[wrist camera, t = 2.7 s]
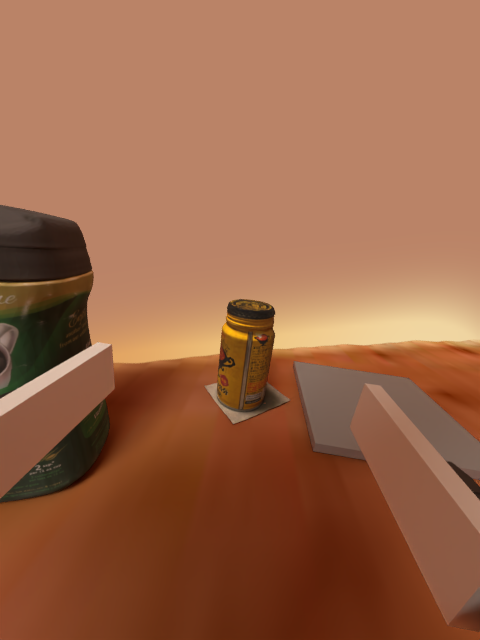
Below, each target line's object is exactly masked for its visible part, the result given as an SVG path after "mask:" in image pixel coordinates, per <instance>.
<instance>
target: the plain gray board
mask: <svg viewBox="0 0 480 640" xmlns="http://www.w3.org/2000/svg"><path fill="white" fill-rule="evenodd" d="M293 369H294V374H295V378H296V382H297V386H298V390H299V394H300V399H301V403H302V407H303V411H304V415H305V419H306V424H307V428H308V432H309V436H310V440H311V444H312V448H313V451H315V452H321V453H327V454H333V455H338V456H344V457H350V458H356V459H362V460H366V459H365V457H364V455H363V453H362V451H361V449H360V447H359V445H358V443H357V441H356V439H355V437H354V435H353V433H352V431H351V429H350V424H351V421H352V419H353V416H354V413H355V410H356V407H357V404H358V401H359V398H360V396H361V393H362V390H363V387H364V384H365V383H366V384H373V385H380V386H381V387H382V388H383V389H384V390H385V391H386V393H387V394H388V395H389V396H390V397H391V398H392V400H393V401H394V402H395V403H396V404H397V405H398V406H399V408H400V409H401V410H402V411H403V412H404V413H405V415H406V416H407V417H408V418H409V419H410V420H411V422H412V423H413V424H414V425H415V426H416V427H417V428H418V430H419V431H420V432H421V433H422V434H423V435H424V437H425V438H426V439H427V440H428V441H429V442H430V443H431V445H432V446H433V447H434V448H435V449H436V450H437V452H438V453H439V454H440V455H441V456H442V457H443V458H444V460H445V461H450V462H452V463H454V464H455V465H456V466H457V467H459V468H460V469H461V470H462V471H464V472H465V473H466V474H467V475H469V476H470V477H471V478H472V479H478V480H480V442H479V441H478V440H476V439H475V438H474V437H473V436H472V435H471V434H470V433H469V432H468V431H467V430H465V429H464V428H463V427H462V426H461V425H460V424H459V423H458V422H457V421H455V420H454V419H453V418H452V417H451V416H450V415H449V414H448V413H447V412H446V411H444V410H443V409H442V408H441V407H440V406H439V405H438V404H437V403H436V402H434V401H433V400H432V399H431V398H430V397H429V396H428V395H427V394H426V393H425V392H423V391H422V390H421V389H420V388H419V387H418V386H417V385H416V384H415V383H414V382H412V381H411V380H410V379H409V378H404V377H398V376H391V375H384V374H377V373H371V372H364V371H357V370H350V369H343V368H337V367H330V366H323V365H316V364H310V363H303V362H296V361H294V363H293Z"/></svg>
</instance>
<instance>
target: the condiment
mask: <svg viewBox="0 0 480 640" xmlns="http://www.w3.org/2000/svg"><path fill="white" fill-rule="evenodd" d="M227 309H228V310H227V317H226V321H227V322H226V323H225V324H224V325H223V327H222V335H221V347H220V359H219V368H218V381H217V383H215V384H212V385H207V386H205V388H206V389H207V390H208V392H209V393H210V395H211V396H212V398H213V399H214V400H215V402H216V403H217V404H218V405H219V407H220V408H221V409H222V411H223V412H224V413H225V414H226V415H227V417H228V418H229V419H230V420H231V422H232V423H233V424H235V423H238V422H240V421H243V420H246V419H248V418H250V417H253V416H256V415H258V414H261V413H263V412H264V411H267V410H268V409H270V408H274V407H276V406H279V405H281V404H283V403H285V402H288V401H290V399H288V398H287V397H285V396H284V395H283V394H281V393H280V392H279V391H278V390H276V389H275V388H274V387H273V386H271V385H270V384H268V382H267V379H268V373H269V367H270V361H271V356H272V350H273V344H274V338H275V333H274V331H273V324H274V315H275V310H274V308H273V307H272V306H271V305H269V304H267V303H263V302H260V301H255V300H247V299H246V300H245V299H239V300H233V301H231V302H229V304H228V307H227Z"/></svg>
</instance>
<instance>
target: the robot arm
mask: <svg viewBox="0 0 480 640" xmlns="http://www.w3.org/2000/svg"><path fill="white" fill-rule="evenodd" d="M114 389H115V383H114V368H113V356H112V344H105V343H99V342H98V343H96V344H94V345H93V346H91V347H89V348H87V349H86V350H84V351H82V352H80V353H79V354H77V355H75V356H73V357H72V358H70V359H68V360H67V361H65V362H63V363H61V364H60V365H58V366H56V367H54V368H53V369H51V370H49V371H47V372H46V373H44V374H42V375H41V376H39V377H37V378H35V379H34V380H32V381H30V382H28V383H27V384H25V385H23V386H22V387H20V388H18V389H16V390H13V391H10V392H7V393H5V394H2V395H0V498H1V497H3V496H4V495H5V494H6V493H7V492H8V491H9V490H10V489H11V488H12V487H13V486H14V485H15V484H16V483H17V482H18V481H19V480H20V479H21V478H22V477H23V476H24V475H25V474H26V473H28V472H29V471H30V470H31V469H32V468H33V467H34V466H35V465H36V464H37V463H38V462H39V461H40V460H41V459H42V458H43V457H44V456H45V455H46V454H47V453H48V452H49V451H50V450H51V449H53V448H54V447H55V446H56V445H57V444H58V443H59V442H60V441H61V440H62V439H63V438H64V437H65V436H66V435H67V434H68V433H69V432H70V431H71V430H72V429H73V428H74V427H75V426H76V425H78V424H79V423H80V422H81V421H82V420H83V419H84V418H85V417H86V416H87V415H88V414H89V413H90V412H91V411H92V410H93V409H94V408H95V407H96V406H97V405H98V404H99V403H100V402H101V401H103V400H104V399H105V398H106V397H107V396H108V395H109V394H110V393H111V392H112V391H113V390H114ZM350 429H351V431H352V433H353V435H354V437H355V439H356V441H357V443H358V445H359V447H360V449H361V451H362V453H363V455H364V457H365V459H366V461H367V463H368V465H369V467H370V469H371V471H372V473H373V475H374V477H375V479H376V481H377V484H378V486H379V488H380V490H381V492H382V494H383V496H384V498H385V500H386V502H387V504H388V506H389V508H390V510H391V512H392V514H393V516H394V518H395V520H396V522H397V524H398V526H399V528H400V530H401V532H402V534H403V536H404V538H405V540H406V542H407V544H408V546H409V548H410V550H411V552H412V554H413V557H414V559H415V561H416V563H417V565H418V567H419V569H420V571H421V573H422V575H423V577H424V579H425V581H426V583H427V585H428V587H429V589H430V591H431V593H432V595H433V597H434V599H435V601H436V603H437V605H438V607H439V609H440V611H441V613H442V615H443V617H444V619H445V621H446V623H447V625H448V626H452V627H457V628H462V629H467V630H472V631H477V632H479V631H480V487H479V486H478V485H477V484H476V482H475V481H474V480H473V479H472V478H471V477H470V476H469V475H467V474H466V473H465V472H464V471H462V470H461V469H460V468H459V467H457V466H456V465H455V464H454V463H452V462H450V461H445V460H444V458H443V457H442V456H441V455H440V454H439V453H438V452H437V450H436V449H435V448H434V447H433V446H432V445H431V443H430V442H429V441H428V440H427V439H426V438H425V437H424V435H423V434H422V433H421V432H420V431H419V430H418V428H417V427H416V426H415V425H414V424H413V423H412V422H411V420H410V419H409V418H408V417H407V416H406V415H405V413H404V412H403V411H402V410H401V409H400V408H399V406H398V405H397V404H396V403H395V402H394V401H393V400H392V398H391V397H390V396H389V395H388V394H387V393H386V391H385V390H384V389H383V388H382V387H381V386H380V385H373V384H366V383H365V384H364V387H363V390H362V393H361V396H360V398H359V401H358V404H357V407H356V410H355V413H354V416H353V419H352V421H351V424H350Z"/></svg>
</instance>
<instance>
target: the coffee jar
mask: <svg viewBox="0 0 480 640" xmlns="http://www.w3.org/2000/svg"><path fill="white" fill-rule="evenodd" d="M91 269H92V266H91V263H90V258H89V255H88V252H87V249H86V243H85V240H84V237H83V234H82V232H81V230H80V228H79V226H78V225H77V224H76V223H75V222H74V221H71V220H68V219H64V218H60V217H56V216H51V215H47V214H43V213H39V212H35V211H30V210H25V209H20V208H14V207H9V206H3V205H0V395H2V394H5V393H7V392H10V391H13V390H16V389H18V388H20V387H22V386H23V385H25V384H27V383H28V382H30V381H32V380H34V379H35V378H37V377H39V376H41V375H42V374H44V373H46V372H47V371H49V370H51V369H53V368H54V367H56V366H58V365H60V364H61V363H63V362H65V361H67V360H68V359H70V358H72V357H73V356H75V355H77V354H79V353H80V352H82V351H84V350H86V349H87V348H89V347H91V346H92V345H91V339H90V334H89V328H88V319H87V300H88V297H89V294H90V292H91V289H92V285H93V278H94V277H93V271H92V270H91ZM109 427H110V423H109V415H108V410H107V405H106V401H105V399H104V400H103V401H101V402H100V403H99V404H98V405H97V406H96V407H95V408H94V409H93V410H92V411H91V412H90V413H89V414H88V415H87V416H86V417H85V418H84V419H83V420H82V421H81V422H80V423H79V424H78V425H76V426H75V427H74V428H73V429H72V430H71V431H70V432H69V433H68V434H67V435H66V436H65V437H64V438H63V439H62V440H61V441H60V442H59V443H58V444H57V445H56V446H55V447H54V448H53V449H51V450H50V451H49V452H48V453H47V454H46V455H45V456H44V457H43V458H42V459H41V460H40V461H39V462H38V463H37V464H36V465H35V466H34V467H33V468H32V469H31V470H30V471H29V472H28V473H26V474H25V475H24V476H23V477H22V478H21V479H20V480H19V481H18V482H17V483H16V484H15V485H14V486H13V487H12V488H11V489H10V490H9V491H8V492H7V493H6V494H5V495H4V496H3V497H1V498H0V503H1V502H8V501H16V500H22V499H27V498H33V497H37V496H42V495H47V494H50V493H53V492H57V491H59V490H62V489H64V488H66V487H68V486H69V485H71V484H72V483H73V482H75V481H76V480H77V479H79V478H80V477H81V476H83V475H84V474H85V473H86V472H87V471H88V470H89V469H90V467H91V466H92V465H93V464H94V462H95V461H96V459H97V457H98V456H99V454H100V452H101V450H102V448H103V446H104V444H105V442H106V439H107V436H108V432H109Z"/></svg>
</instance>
